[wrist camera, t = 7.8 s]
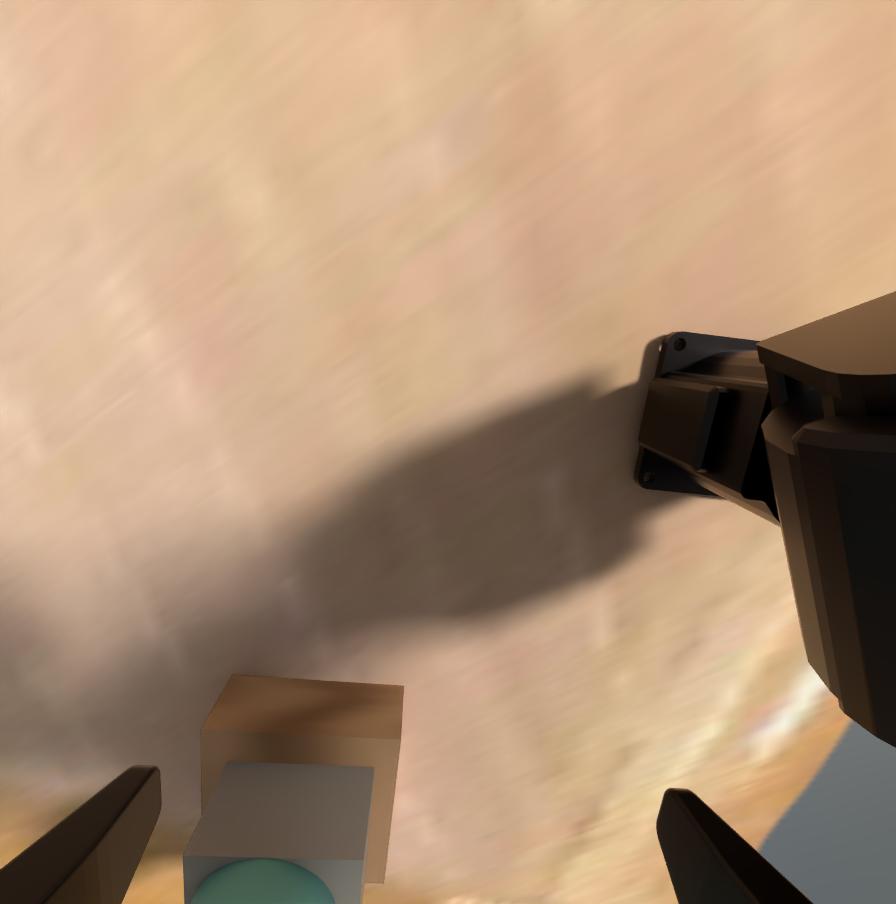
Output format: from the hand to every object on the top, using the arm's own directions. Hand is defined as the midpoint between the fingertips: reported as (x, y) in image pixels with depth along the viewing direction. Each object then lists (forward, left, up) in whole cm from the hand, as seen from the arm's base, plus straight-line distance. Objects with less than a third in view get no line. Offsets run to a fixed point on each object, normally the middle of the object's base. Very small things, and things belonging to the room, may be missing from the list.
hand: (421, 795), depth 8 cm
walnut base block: (+4, +12, -12) cm, 18 cm away
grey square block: (+4, +13, -9) cm, 16 cm away
